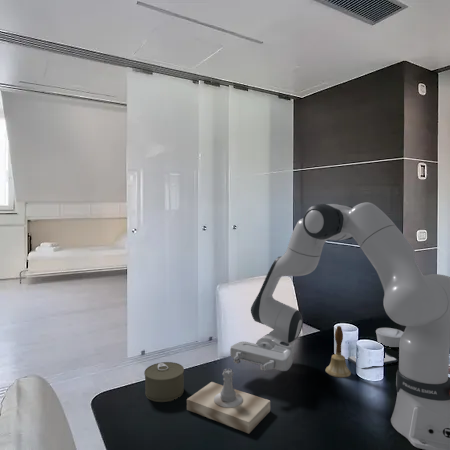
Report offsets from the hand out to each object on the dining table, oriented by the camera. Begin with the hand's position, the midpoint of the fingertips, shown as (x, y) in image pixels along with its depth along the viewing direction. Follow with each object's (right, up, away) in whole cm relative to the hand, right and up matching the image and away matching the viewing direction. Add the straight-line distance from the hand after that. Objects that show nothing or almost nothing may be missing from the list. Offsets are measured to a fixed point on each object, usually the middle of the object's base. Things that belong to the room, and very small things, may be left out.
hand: (248, 364), depth 111 cm
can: (-26, -9, +1) cm, 27 cm away
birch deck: (-6, -9, -9) cm, 14 cm away
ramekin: (+60, -7, +38) cm, 72 cm away
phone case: (+47, -8, +22) cm, 52 cm away
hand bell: (+32, -8, +14) cm, 35 cm away
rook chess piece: (-6, -6, -9) cm, 13 cm away
